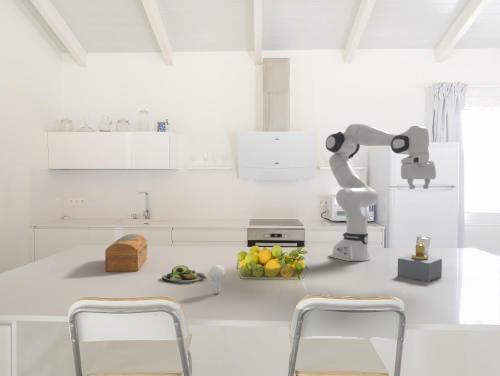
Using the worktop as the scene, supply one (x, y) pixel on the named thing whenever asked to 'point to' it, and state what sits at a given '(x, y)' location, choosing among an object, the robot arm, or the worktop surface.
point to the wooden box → (126, 254)
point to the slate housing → (419, 268)
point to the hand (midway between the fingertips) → (419, 188)
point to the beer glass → (425, 242)
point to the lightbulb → (216, 277)
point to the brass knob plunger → (420, 253)
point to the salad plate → (183, 275)
